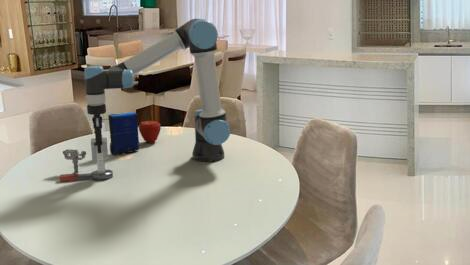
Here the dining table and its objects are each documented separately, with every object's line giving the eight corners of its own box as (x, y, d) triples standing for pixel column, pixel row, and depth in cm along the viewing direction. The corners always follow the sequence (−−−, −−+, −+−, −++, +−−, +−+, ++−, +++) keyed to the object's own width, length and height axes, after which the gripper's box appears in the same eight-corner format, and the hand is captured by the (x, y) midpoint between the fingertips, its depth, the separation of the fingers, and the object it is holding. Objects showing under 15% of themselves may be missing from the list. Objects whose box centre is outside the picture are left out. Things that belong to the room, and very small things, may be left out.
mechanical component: (85, 174, 244) (83, 151, 242) (63, 173, 246) (61, 151, 244) (88, 171, 247) (86, 150, 244) (67, 170, 249) (65, 149, 246)
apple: (137, 144, 290) (135, 122, 287) (143, 139, 300) (142, 117, 297) (157, 145, 288) (156, 122, 285) (163, 140, 298) (162, 117, 295)
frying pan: (112, 173, 245) (111, 155, 243) (113, 179, 236) (111, 161, 234) (61, 177, 240) (59, 159, 238) (59, 184, 231) (57, 165, 229)
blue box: (112, 156, 270) (109, 115, 265) (108, 154, 274) (105, 113, 269) (140, 151, 277) (138, 111, 272) (136, 149, 282) (133, 110, 277)
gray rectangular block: (107, 155, 241) (106, 137, 239) (108, 159, 235) (106, 141, 233) (92, 156, 240) (91, 138, 238) (92, 160, 234) (90, 142, 232)
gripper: (87, 100, 240) (91, 152, 246) (86, 108, 222) (90, 164, 227) (105, 99, 242) (108, 151, 247) (105, 107, 223) (109, 163, 229)
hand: (100, 157), depth 237 cm, fingers closed on gray rectangular block, 6 cm apart
